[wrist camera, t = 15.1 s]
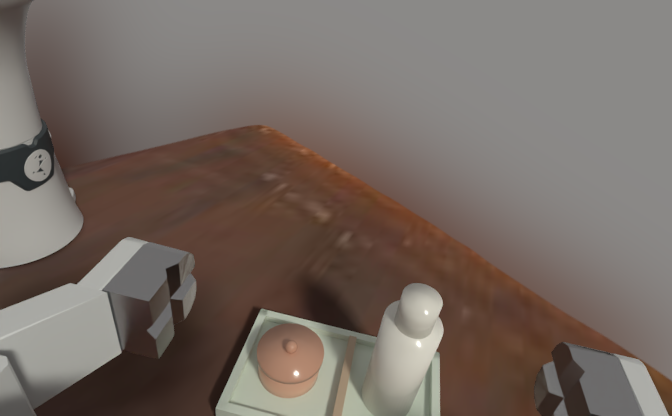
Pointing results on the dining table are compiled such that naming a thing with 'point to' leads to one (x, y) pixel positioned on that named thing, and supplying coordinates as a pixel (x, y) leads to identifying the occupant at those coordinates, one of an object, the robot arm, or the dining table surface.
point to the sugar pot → (289, 360)
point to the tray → (333, 378)
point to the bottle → (403, 351)
